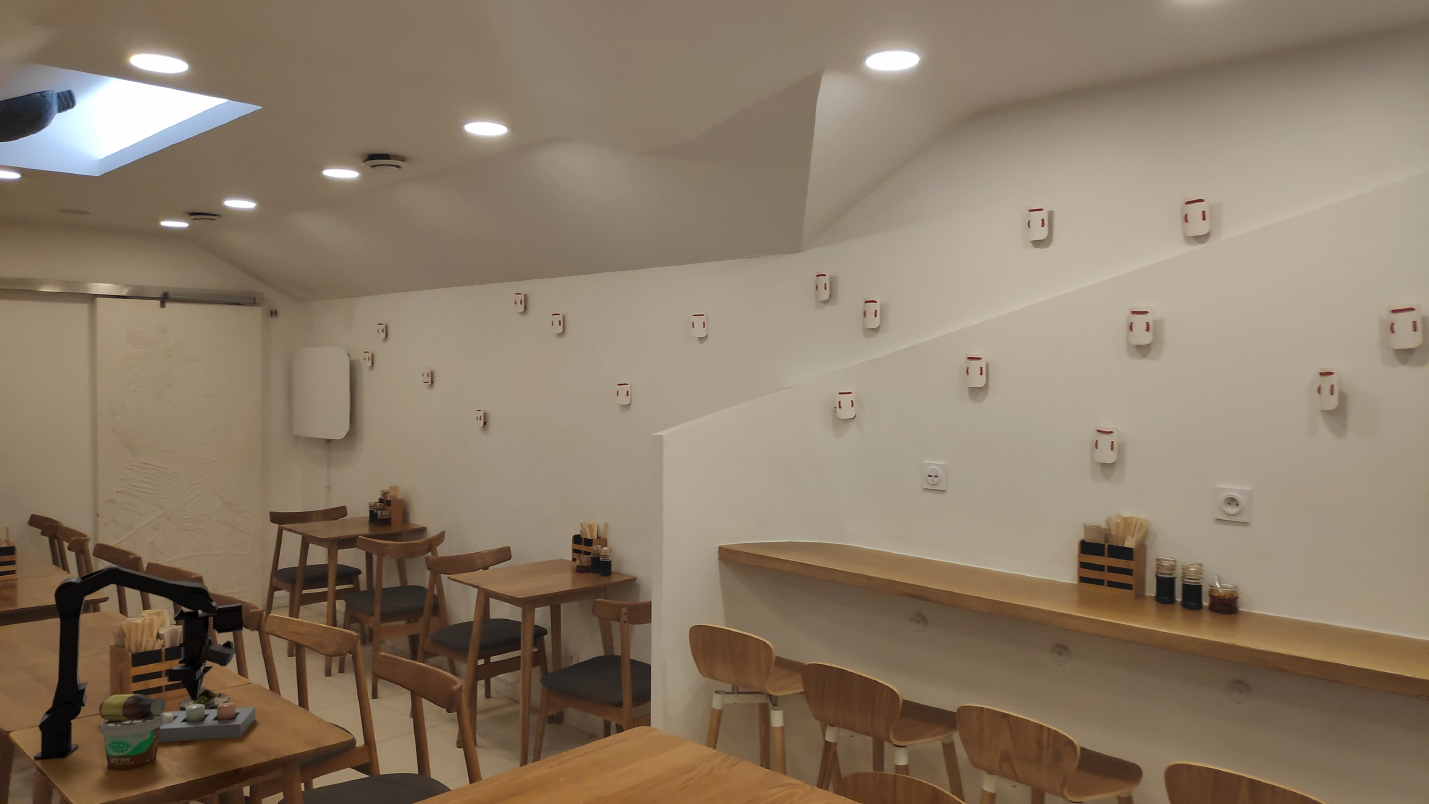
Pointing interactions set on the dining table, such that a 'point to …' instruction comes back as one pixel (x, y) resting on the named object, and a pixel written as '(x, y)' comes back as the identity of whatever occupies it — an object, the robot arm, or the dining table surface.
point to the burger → (205, 699)
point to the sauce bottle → (130, 707)
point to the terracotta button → (226, 711)
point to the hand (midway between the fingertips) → (194, 699)
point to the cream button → (166, 717)
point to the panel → (205, 726)
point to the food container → (131, 743)
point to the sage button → (195, 712)
